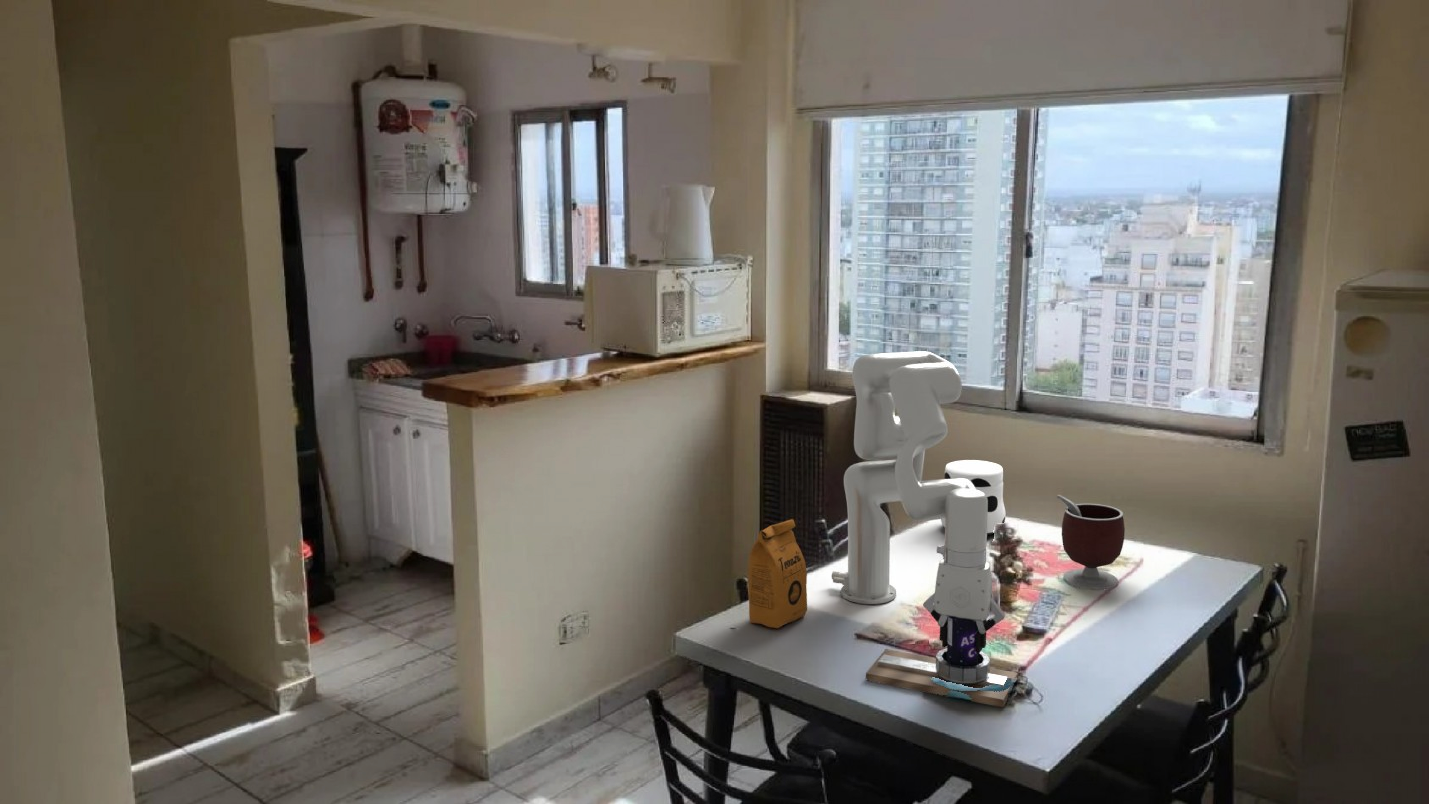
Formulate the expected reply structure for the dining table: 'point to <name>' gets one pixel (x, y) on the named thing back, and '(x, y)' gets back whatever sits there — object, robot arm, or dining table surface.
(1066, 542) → the mate gourd
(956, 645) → the beverage can
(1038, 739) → the dining table surface
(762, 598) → the coffee package
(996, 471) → the milk container
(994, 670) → the mount board
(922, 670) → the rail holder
